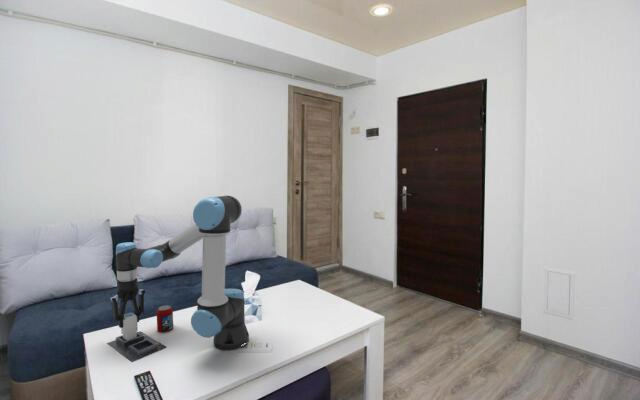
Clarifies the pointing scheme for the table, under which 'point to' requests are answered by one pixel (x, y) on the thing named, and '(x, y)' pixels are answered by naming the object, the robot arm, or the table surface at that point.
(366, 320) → the table surface
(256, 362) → the table surface
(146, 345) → the grey socket board
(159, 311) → the beverage can
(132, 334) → the plug
